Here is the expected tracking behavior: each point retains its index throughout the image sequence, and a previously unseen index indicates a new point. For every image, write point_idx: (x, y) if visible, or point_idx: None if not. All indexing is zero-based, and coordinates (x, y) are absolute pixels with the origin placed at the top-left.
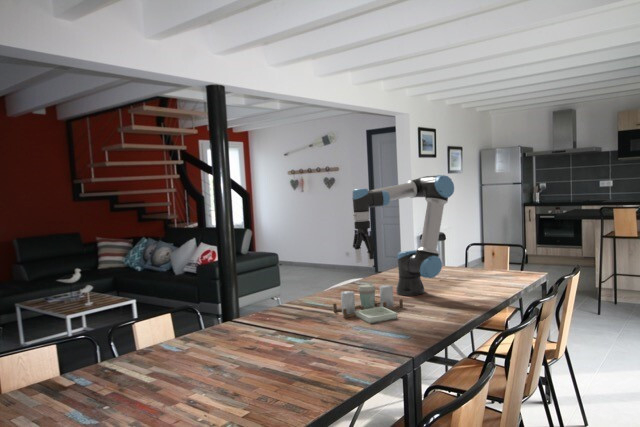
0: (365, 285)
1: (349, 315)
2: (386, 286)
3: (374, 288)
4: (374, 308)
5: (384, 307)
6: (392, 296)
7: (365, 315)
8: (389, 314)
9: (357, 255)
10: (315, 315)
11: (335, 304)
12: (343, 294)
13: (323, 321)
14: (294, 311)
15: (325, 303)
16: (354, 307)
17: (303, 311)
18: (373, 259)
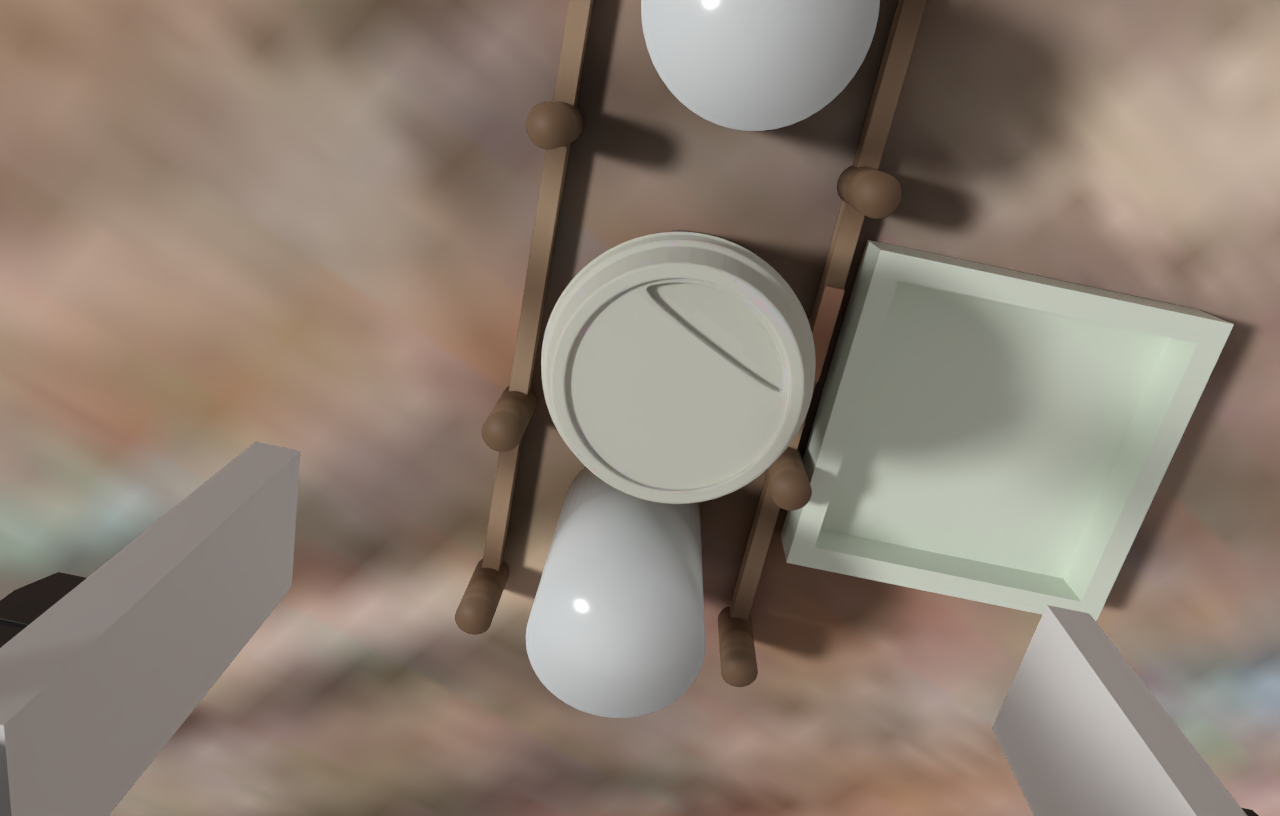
0: (639, 385)
1: (754, 594)
2: (769, 2)
3: (805, 324)
4: (870, 367)
5: (944, 265)
6: None
7: (999, 596)
8: (1190, 413)
9: (180, 689)
10: (476, 742)
11: (491, 618)
12: (643, 709)
13: (689, 790)
14: (227, 786)
15: (121, 458)
16: (691, 512)
17: (279, 742)
18: (1181, 746)
